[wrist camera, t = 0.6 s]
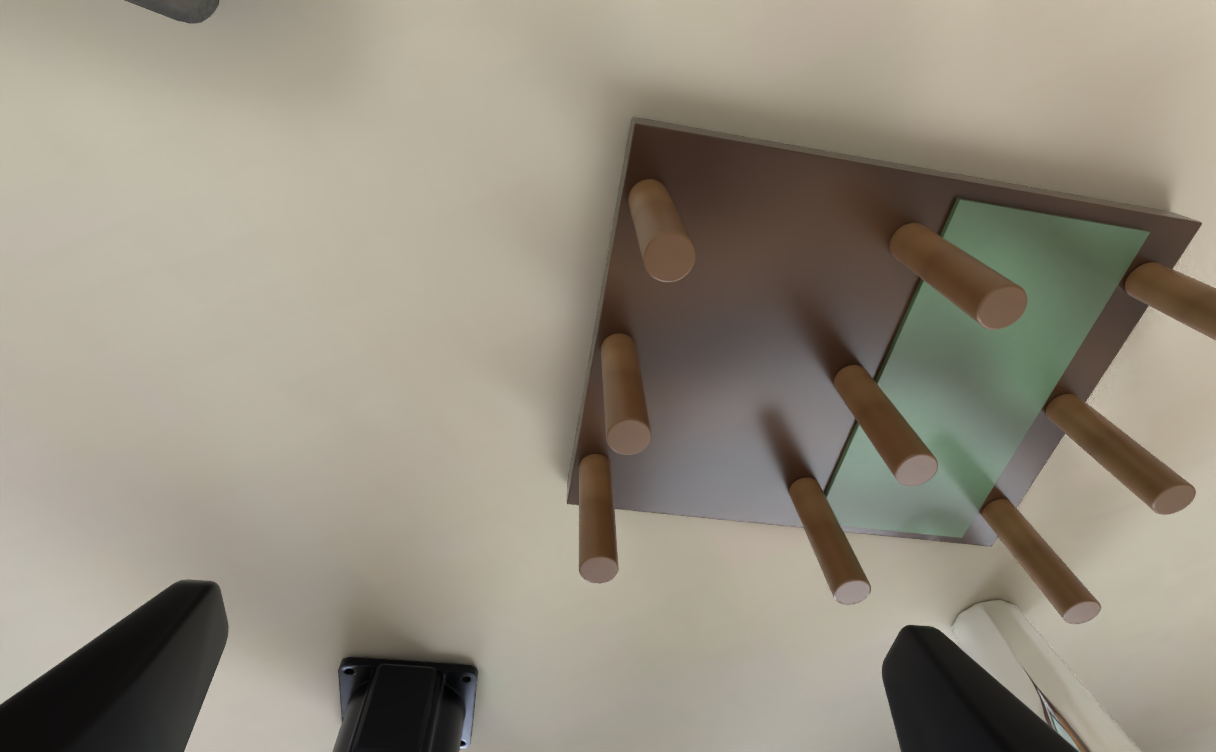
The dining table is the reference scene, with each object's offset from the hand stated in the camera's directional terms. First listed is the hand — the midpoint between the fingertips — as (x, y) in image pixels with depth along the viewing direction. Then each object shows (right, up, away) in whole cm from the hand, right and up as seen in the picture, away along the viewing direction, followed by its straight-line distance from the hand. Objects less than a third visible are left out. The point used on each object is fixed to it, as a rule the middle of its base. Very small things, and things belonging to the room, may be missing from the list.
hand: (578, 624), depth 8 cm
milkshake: (+18, -9, +23) cm, 30 cm away
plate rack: (+9, +4, +15) cm, 17 cm away
